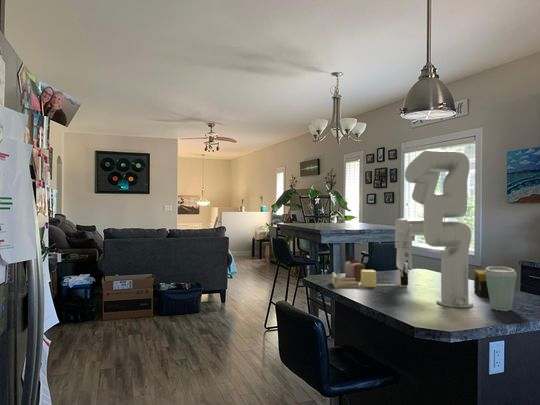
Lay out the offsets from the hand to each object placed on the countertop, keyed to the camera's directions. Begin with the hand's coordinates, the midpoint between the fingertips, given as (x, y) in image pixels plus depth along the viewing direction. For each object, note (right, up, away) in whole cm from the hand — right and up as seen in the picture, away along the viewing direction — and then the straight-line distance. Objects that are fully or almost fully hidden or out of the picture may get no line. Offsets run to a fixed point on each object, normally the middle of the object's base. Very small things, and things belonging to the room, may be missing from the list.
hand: (403, 284), depth 188 cm
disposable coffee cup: (+22, -1, -41) cm, 46 cm away
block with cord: (-9, -1, +1) cm, 9 cm away
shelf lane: (-27, -1, +2) cm, 27 cm away
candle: (+30, -1, -18) cm, 35 cm away
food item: (-18, -1, +20) cm, 27 cm away
